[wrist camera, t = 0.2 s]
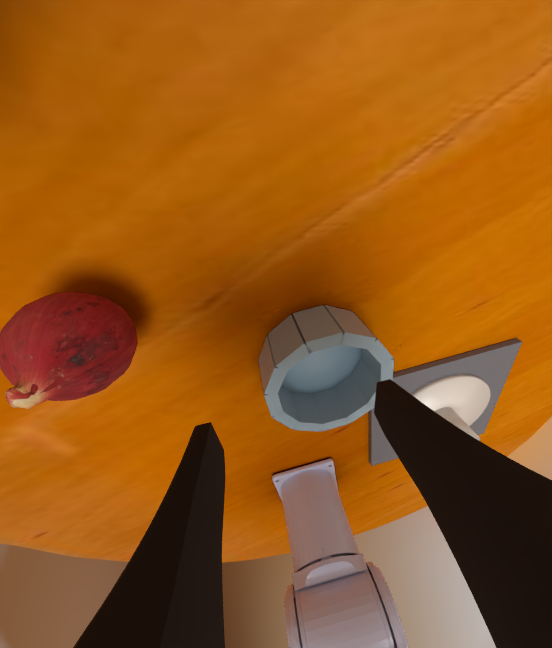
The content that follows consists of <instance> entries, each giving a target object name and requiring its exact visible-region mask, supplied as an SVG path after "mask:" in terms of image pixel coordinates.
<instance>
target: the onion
mask: <svg viewBox="0 0 552 648" xmlns="http://www.w3.org/2000/svg"><path fill="white" fill-rule="evenodd" d="M136 347H137V336H136V329H135V325H134V323H133V321H132V320H131V318H130V317H129V316H128V314H127V313H126V312H125V310H124V309H123V308H122V307H120V306H119V305H117V304H115V303H114V302H112V301H110V300H109V299H107V298H104V297H100V296H96V295H91V294H87V293H82V292H63V293H54V294H51V295H48V296H45V297H42V298H40V299H38V300H36V301H33V302H31V303H29V304H27V305H25V306H24V307H22V308H21V309H20V310H19V311H18V312H17V313H16V314H15V315H14V316H13V317H12V318H11V319H10V320H9V322H8V323H7V324H6V325H5V326H4V327H3V329H2V331H1V333H0V368H1V370H2V372H3V373H4V375H5V376H6V377H7V379H8V380H9V381H10V382H11V384H13V385H14V386H15V387H13V388H10V389H9V390H7V391H6V399H7V401H8V403H9V404H10V405H11V407H21V408H27V409H30V408H31V407H32V406H35V405H37V404H40V403H42V402H45V401H47V400H51V401H65V400H75V399H79V398H82V397H85V396H88V395H91V394H94V393H97V392H99V391H101V390H104V389H106V388H107V387H108V386H109V385H110V384H111V383H113V382H114V381H115V380H116V379H118V378H119V377H120V376H121V375H123V374H124V373H125V371H126V370H127V369H128V367H129V366H130V364H131V361H132V359H133V356H134V353H135V350H136Z"/></svg>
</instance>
